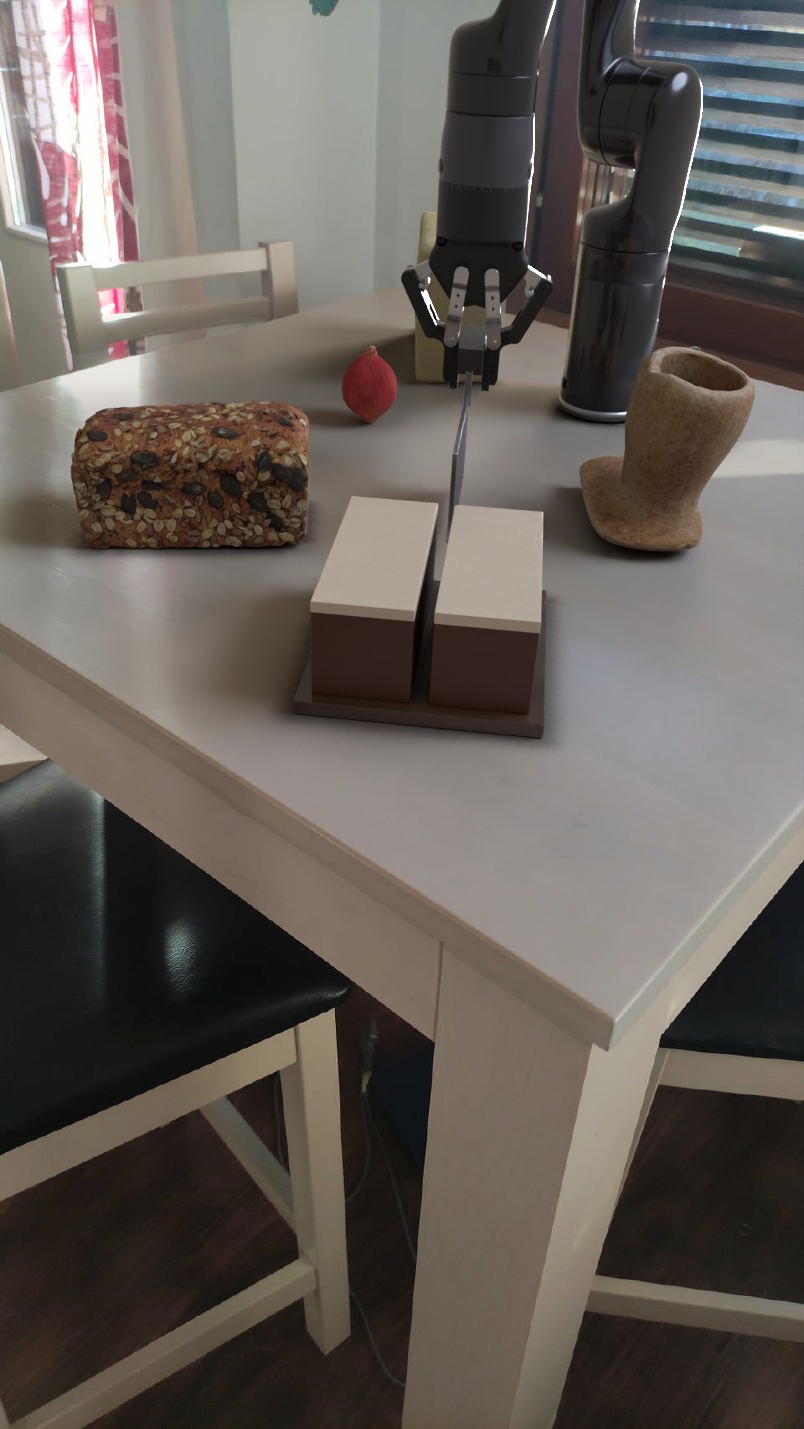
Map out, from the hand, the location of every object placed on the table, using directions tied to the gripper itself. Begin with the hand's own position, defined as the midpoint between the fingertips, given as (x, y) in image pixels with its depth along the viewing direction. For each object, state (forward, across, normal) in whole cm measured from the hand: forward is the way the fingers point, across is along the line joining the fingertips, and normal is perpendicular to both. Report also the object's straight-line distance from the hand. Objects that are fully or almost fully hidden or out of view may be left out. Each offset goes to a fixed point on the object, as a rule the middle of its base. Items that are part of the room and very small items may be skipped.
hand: (469, 386), depth 96 cm
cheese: (+9, +6, -38) cm, 40 cm away
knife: (+7, 0, +6) cm, 9 cm away
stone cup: (+9, -17, +7) cm, 20 cm away
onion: (+9, +11, -13) cm, 19 cm away
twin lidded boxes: (+9, 0, +32) cm, 33 cm away
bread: (+9, +21, +15) cm, 28 cm away
